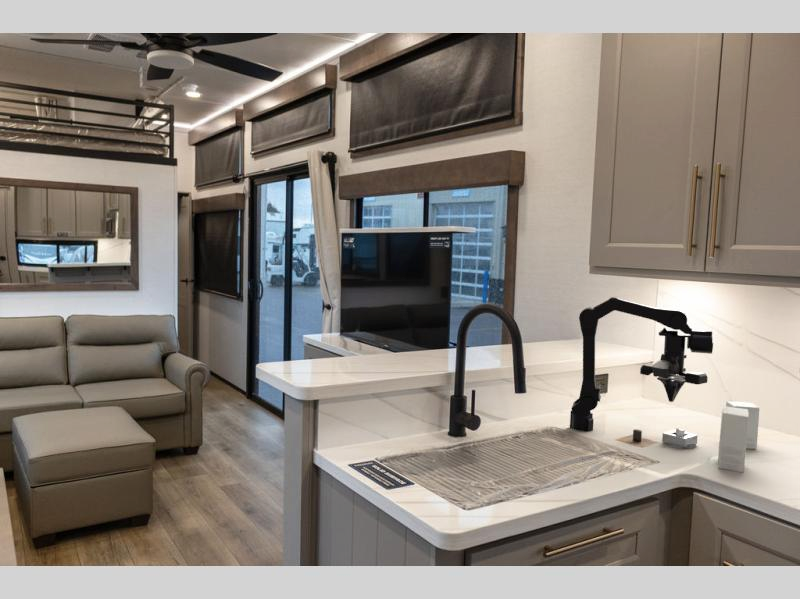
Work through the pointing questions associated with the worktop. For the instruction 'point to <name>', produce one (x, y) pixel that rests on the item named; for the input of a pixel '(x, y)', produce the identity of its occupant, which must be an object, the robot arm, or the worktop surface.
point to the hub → (681, 433)
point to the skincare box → (733, 438)
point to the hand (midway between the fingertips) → (671, 401)
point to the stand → (637, 439)
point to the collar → (679, 439)
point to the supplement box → (753, 421)
